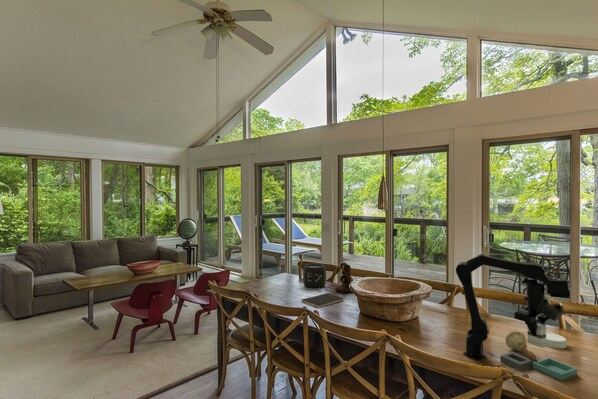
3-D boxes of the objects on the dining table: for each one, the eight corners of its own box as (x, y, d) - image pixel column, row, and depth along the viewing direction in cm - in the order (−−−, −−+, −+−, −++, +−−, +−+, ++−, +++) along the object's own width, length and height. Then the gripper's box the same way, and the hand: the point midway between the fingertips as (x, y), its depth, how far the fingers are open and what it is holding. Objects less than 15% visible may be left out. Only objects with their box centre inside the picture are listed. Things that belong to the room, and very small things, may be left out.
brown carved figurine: (358, 293, 236) (358, 264, 236) (339, 294, 233) (339, 265, 233) (351, 287, 250) (351, 261, 250) (332, 288, 247) (332, 262, 247)
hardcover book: (344, 301, 218) (344, 298, 218) (318, 308, 204) (318, 305, 204) (327, 296, 231) (327, 292, 231) (301, 302, 216) (301, 299, 216)
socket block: (520, 370, 128) (520, 364, 128) (500, 361, 136) (500, 355, 136) (533, 366, 132) (533, 360, 132) (513, 357, 139) (513, 351, 139)
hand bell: (512, 327, 146) (531, 346, 130) (529, 337, 145) (551, 358, 130) (501, 343, 147) (519, 363, 132) (518, 352, 147) (538, 374, 131)
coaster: (534, 339, 157) (534, 332, 157) (555, 339, 157) (555, 332, 157) (549, 349, 147) (549, 341, 147) (572, 349, 147) (572, 341, 147)
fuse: (541, 347, 127) (541, 326, 127) (527, 342, 132) (527, 322, 132) (546, 346, 128) (546, 325, 129) (532, 341, 133) (532, 321, 133)
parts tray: (561, 381, 121) (561, 374, 121) (532, 368, 130) (532, 362, 130) (577, 375, 125) (577, 368, 125) (548, 363, 134) (548, 357, 134)
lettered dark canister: (297, 286, 254) (297, 266, 254) (312, 282, 268) (312, 262, 268) (316, 290, 242) (316, 269, 242) (330, 285, 256) (330, 265, 256)
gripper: (543, 304, 119) (544, 348, 119) (572, 297, 127) (574, 338, 127) (512, 296, 129) (513, 337, 129) (541, 290, 137) (542, 328, 137)
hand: (536, 335), depth 130 cm, fingers closed on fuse, 3 cm apart
